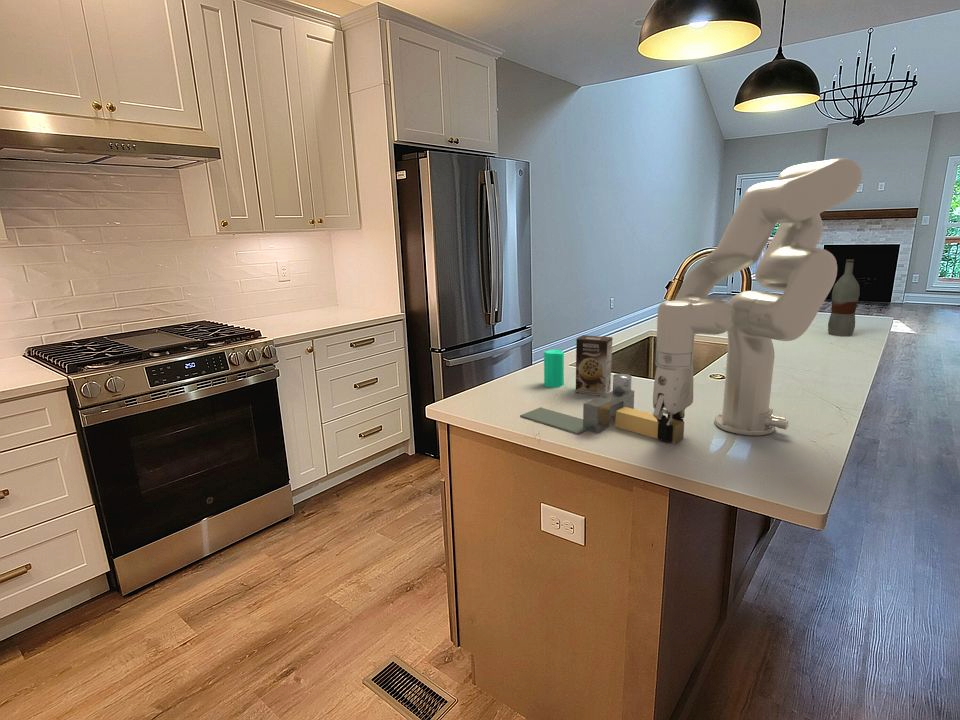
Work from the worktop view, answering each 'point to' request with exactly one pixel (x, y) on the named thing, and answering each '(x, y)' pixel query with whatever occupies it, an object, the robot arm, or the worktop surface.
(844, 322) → the bottle
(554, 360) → the candle
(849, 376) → the worktop surface
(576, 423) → the mat
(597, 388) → the coffee box
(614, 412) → the housing
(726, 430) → the robot arm
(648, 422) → the yellow rectangular block
